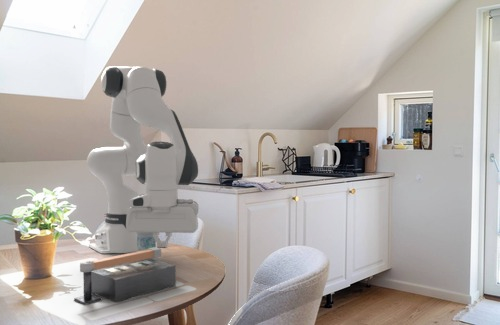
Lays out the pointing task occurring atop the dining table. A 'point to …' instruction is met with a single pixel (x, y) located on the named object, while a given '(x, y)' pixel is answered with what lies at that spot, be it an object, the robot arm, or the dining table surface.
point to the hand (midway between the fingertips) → (162, 247)
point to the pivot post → (87, 291)
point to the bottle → (145, 241)
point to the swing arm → (119, 259)
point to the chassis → (133, 279)
